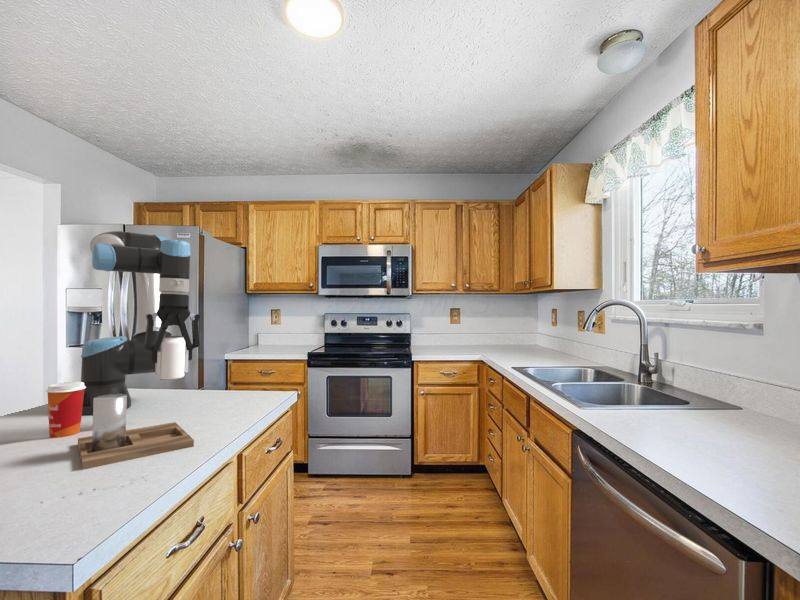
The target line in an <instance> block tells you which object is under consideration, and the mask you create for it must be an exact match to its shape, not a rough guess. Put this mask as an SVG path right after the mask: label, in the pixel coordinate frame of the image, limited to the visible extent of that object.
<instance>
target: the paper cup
mask: <svg viewBox="0 0 800 600" xmlns="http://www.w3.org/2000/svg"><path fill="white" fill-rule="evenodd" d="M85 388H86V386H85V385H84V382H81V381H71V382H70V381H65V382H56V383H52V384H49V385H48V387H47V389H46V391H45V392H46V393H47V409H48V411H47V413H48V415H47V416H48V432H49V433H48V435H49V438H53V439H56V438H57V439H58V438H59V439H60V438H67V437H72V436H75V435H77V434H80V433H81V424H82V417H83V415H82V408H83V398H84V389H85Z"/></svg>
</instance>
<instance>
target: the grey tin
mask: <svg viewBox="0 0 800 600" xmlns="http://www.w3.org/2000/svg"><path fill="white" fill-rule="evenodd" d="M127 409H128V408H127V395H126V394H109V395H103V396H98V397H95V398H94V401H93V415H92V431H91V432H92V435H91V436H92V452H98V451H103V450H108V449H113V448H119V447H124V446H125V444H126V430H127V411H128V410H127Z"/></svg>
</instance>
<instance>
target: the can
mask: <svg viewBox="0 0 800 600" xmlns="http://www.w3.org/2000/svg"><path fill="white" fill-rule="evenodd" d="M185 349H187V348H186V342H185V339H184V337H183V336H182V335H172V336H164V337H163V339H162V341H161V344H160V351H161V367H160V375H158V378H159V380H161V381H163V380H164V381H174V380H175V381H176V380H180V379H183V378H184V377H185V375H186V374H185V373H186V372H185Z"/></svg>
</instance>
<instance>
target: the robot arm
mask: <svg viewBox="0 0 800 600" xmlns="http://www.w3.org/2000/svg"><path fill="white" fill-rule="evenodd" d="M89 244H90V245H89V246H90V247H89V248H90V251H91V254H92V255H91V264H92V265H91V266H92V269H94V270H97V271H104V272H122V273H135V274H136V301H137V303H136V306H137V308H136V309H137V332H135V333H134V334H133V336H132V339H131V340H129V339H128V338H127V336H124V335H120V336H119V335H118V336H110V337H102V338H97V339H92V340H87V341H86V342H84V343H83V345H82V348H81V349H82V350H81V355H80V358H81V367H80V368H81V372H80V374H81V375H80V382H84V385H85V386H86V388H85V389H84V398H83V408H82V416H88V415H90V416H93V401H94V398H95V397H98V396H103V395H109V394H126V395H127V409H129V408H130V407H131V406H132V397H131V395H130V392H129V390H128V387H127V384H126V378H127V377H126V376H129V375H139V374H152V373H155V375H156V376H159V375H160V367H161V351H160V344H161V341H162V339H163V337H164V336H173V334H172V331H170V330H168V328H169V326H177V327H178V329H179V330H180V334H181V336H183V337H184V339H185V342H186V349H185V373H188V372H189V361H192V360H193V350H194V349H196V348H199V347H200V332H199V321H200V317H201V315H200V314H199V313H192V312H191V311H190V309H189V305H190V304H189V303H190V296H189V294H188V293H189V292H190V274H191V273H190V272H191V271H190V268H191V266H190V265H191V254H192V252H191V245H190V243H189V242H187V241H185V240H180V239H168V238H166V237H165V236H161V235H157V234H145V233H136V232H130V231H129V232H128V231H123V230H122V231H120V230H118V231H116V230H114V231H113V230H112V231H106V232H101V233H99V234H97V235H95V236H94V237H93V238H92V239H91V242H90V243H89ZM188 318H190V319H189V320H190V321H191V335H192V341H191V338H190V334H189V331H188V329H187V325H186V323H185V322H186V321H187V319H188ZM128 407H129V408H128Z"/></svg>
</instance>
